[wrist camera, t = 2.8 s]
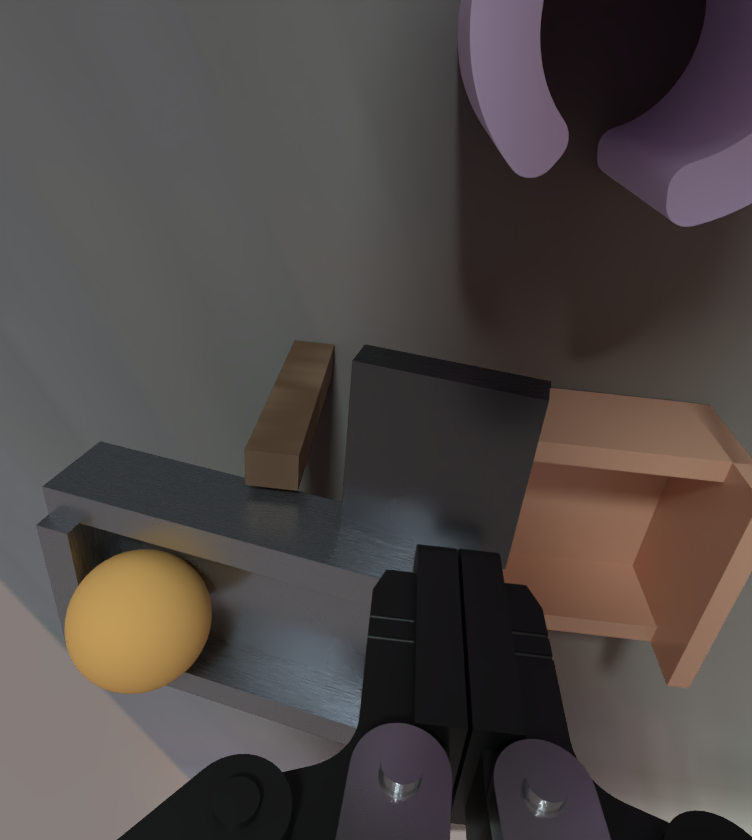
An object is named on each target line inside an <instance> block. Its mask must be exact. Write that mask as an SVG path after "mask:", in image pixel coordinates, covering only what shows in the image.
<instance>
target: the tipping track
mask: <svg viewBox="0 0 752 840" xmlns="http://www.w3.org/2000/svg"><path fill="white" fill-rule="evenodd" d="M550 387H551V381H546V380H541V379H536V378H531V377H526V376H521V375H516V374H511V373H506V372H501V371H496V370H491V369H486V368H481V367H476V366H471V365H466V364H461V363H456V362H451V361H446V360H441V359H436V358H431V357H426V356H421V355H415V354H410V353H405V352H400V351H395V350H390V349H385V348H380V347H375V346H370V345H364V347H363V348H362V349H361V350H360V352H359V353H358V354H357V355H356V357H355V358H354V359H353V361H352V374H351V388H350V401H349V415H348V429H347V443H346V457H345V470H344V484H343V498H342V502H338V501H334V500H331V499H327V498H323V497H319V496H315V495H311V494H307V493H303V492H299V491H295V490H286V489H277V488H268V487H259V486H250V485H245V478H243V477H239V476H235V475H231V474H228V473H224V472H220V471H216V470H212V469H208V468H204V467H200V466H196V465H192V464H188V463H184V462H180V461H176V460H172V459H168V458H164V457H160V456H156V455H152V454H148V453H144V452H140V451H136V450H132V449H129V448H125V447H121V446H117V445H113V444H109V443H105V442H101V441H100V442H99V443H98V444H96V445H95V446H94V447H92V448H91V449H90V450H89V451H87V452H86V453H85V454H83V455H82V456H81V457H80V458H78V459H77V460H76V461H75V462H73V463H72V464H71V465H69V466H68V467H67V468H66V469H64V470H63V471H62V472H60V473H59V474H58V475H57V476H55V477H54V478H53V479H51V480H50V481H49V482H48V483H46V484H45V485H44V486H42V487H43V491H44V495H45V500H46V504H47V508H48V513H49V515H48V516H47V517H45V518H44V519H43V520H42V521H41V522H39V523H38V524H37V525H36V526H37V530H38V534H39V538H40V542H41V546H42V550H43V554H44V558H45V562H46V566H47V570H48V574H49V578H50V582H51V586H52V590H53V594H54V598H55V602H56V606H57V610H58V614H59V618H60V622H61V626H62V630H63V634H64V638H65V618H66V613H67V608H68V605H69V603H70V600H71V598H72V596H73V594H74V592H75V590H76V588H77V587H78V586H79V584H80V583H81V582H82V580H83V579H84V578H85V577H86V576H87V575H88V574H89V573H90V572H91V571H92V570H93V569H94V568H95V567H97V566H98V565H99V564H101V563H102V562H104V561H105V560H107V559H109V558H111V557H113V556H115V555H118V554H121V553H124V552H127V551H132V550H138V549H154V550H160V551H164V552H168V553H171V554H173V555H175V556H177V557H179V558H181V559H183V560H184V561H186V562H187V563H188V564H189V565H191V566H192V567H193V568H194V569H195V570H196V572H197V573H198V574H199V575H200V577H201V578H202V580H203V581H204V583H205V586H206V588H207V590H208V593H209V596H210V601H211V607H212V620H211V627H210V632H209V635H208V638H207V641H206V643H205V645H204V647H203V649H202V652H201V653H200V655H199V656H198V658H197V659H196V660H195V662H194V663H193V664H192V665H191V666H190V668H189V669H188V670H187V671H185V672H184V673H183V674H182V675H181V676H180V677H178V678H177V679H175V680H174V681H172V682H171V683H169V684H167V686H170V687H173V688H176V689H179V690H182V691H185V692H188V693H191V694H194V695H197V696H200V697H203V698H206V699H209V700H212V701H215V702H218V703H221V704H224V705H227V706H230V707H233V708H236V709H239V710H242V711H245V712H248V713H251V714H254V715H257V716H260V717H263V718H266V719H269V720H272V721H275V722H278V723H281V724H284V725H287V726H290V727H293V728H296V729H299V730H302V731H305V732H308V733H311V734H314V735H317V736H320V737H323V738H326V739H329V740H332V741H335V742H338V743H341V744H344V745H347V744H348V743H349V741H350V740H351V739H352V737H353V735H354V733H355V731H356V728H357V726H358V720H359V711H360V701H361V692H362V682H363V673H364V663H365V653H366V644H367V635H368V626H369V618H370V609H371V600H372V591H373V588H374V587H375V585H376V584H377V582H378V581H379V579H380V578H381V577H382V575H383V574H384V572H385V571H386V569H387V570H396V571H405V572H412V570H413V564H414V558H415V551H416V546H417V544H423V545H432V546H441V547H449V548H456V549H457V552H458V549H459V548H460V549H469V550H478V551H486V552H495V553H499V554H500V557H501V563H502V569H506V565H507V561H508V557H509V553H510V549H511V546H512V542H513V538H514V534H515V530H516V526H517V523H518V519H519V515H520V511H521V507H522V503H523V499H524V496H525V492H526V488H527V484H528V480H529V476H530V472H531V469H532V465H533V461H534V457H535V453H536V449H537V445H538V442H539V438H540V434H541V430H542V426H543V422H544V418H545V415H546V411H547V407H548V403H549V397H550ZM65 642H66V640H65Z"/></svg>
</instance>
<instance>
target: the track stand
mask: <svg viewBox="0 0 752 840" xmlns="http://www.w3.org/2000/svg"><path fill="white" fill-rule="evenodd" d="M333 360H334V345H332V344H323V343H313V342H304V341H294V343H293V345H292V348H291V350H290V352H289V354H288V356H287V358H286V361H285V363H284V365H283V367H282V369H281V372H280V374H279V376H278V378H277V380H276V382H275V385H274V387H273V389H272V391H271V393H270V396H269V398H268V400H267V402H266V404H265V406H264V409H263V411H262V413H261V415H260V417H259V419H258V422H257V424H256V426H255V428H254V430H253V433H252V435H251V437H250V439H249V441H248V443H247V446H246V448H245V485H250V486H259V487H268V488H277V489H286V490H295V491H298V489H299V486H300V482H301V479H302V475H303V472H304V469H305V465H306V462H307V459H308V455H309V452H310V448H311V445H312V442H313V438H314V435H315V432H316V428H317V425H318V421H319V418H320V415H321V411H322V408H323V405H324V401H325V398H326V394H327V391H328V388H329V384H330V381H331V378H332V374H333Z"/></svg>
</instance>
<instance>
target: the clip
mask: <svg viewBox="0 0 752 840" xmlns="http://www.w3.org/2000/svg"><path fill="white" fill-rule="evenodd" d="M543 2H544V0H461V2H460V9H459V17H458V34H457V43H458V57H459V65H460V70H461V75H462V80H463V84H464V87H465V90H466V93H467V96H468V99H469V101H470V104H471V106H472V108H473V110H474V112H475V114H476V116H477V118H478V119H479V121H480V123H481V124H482V126H483V127H484V129H485V130H486V132H487V133H488V135H489V136H490V138H491V139H492V141H493V142H494V144H495V145H496V147H497V148H498V150H499V151H500V153H501V154H502V156H503V157H504V159H505V160H506V162H507V163H508V164H509V166H510V167H511V169H512V170H513V171H514V172H515V173H516V174H518V175H520V176H522V177H525V178H534V177H538V176H541V175H543V174H544V173H546V172H547V171H548V170H549V169H550V168H551V167H552V166H553V165H554V164H555V163H556V162H557V161H558V159H559V158H560V157H561V156H562V154H563V153H564V152H565V149H566V147H567V144H568V140H569V132H568V128H567V125H566V123H565V121H564V120H563V118H562V116H561V115H560V113H559V112H558V110H557V108H556V106H555V104H554V102H553V99H552V97H551V95H550V92H549V89H548V86H547V83H546V80H545V75H544V71H543V66H542V58H541V49H540V27H541V15H542V8H543ZM597 163H598V166H599V168H600V170H601V171H602V172H604V173H605V174H607V175H608V176H609V177H611V178H612V179H613V180H615V181H616V182H618V183H619V184H620V185H622V186H623V187H625V188H626V189H627V190H629V191H630V192H632V193H633V194H634V195H636V196H637V197H639V198H640V199H641V200H643V201H644V202H645V203H647V204H648V205H650V206H651V207H652V208H654V209H655V210H657V211H658V212H659V213H661V214H662V215H664V216H665V217H666V218H668V219H669V220H670V221H672V222H673V223H675V224H677V225H679V226H682V227H691V226H696V225H699V224H703V223H706V222H710V221H712V220H715V219H718V218H721V217H723V216H726V215H728V214H731V213H733V212H735V211H737V210H740V209H742V208H744V207H746V206H748V205H750V204H752V0H706V12H705V19H704V24H703V29H702V32H701V36H700V39H699V42H698V44H697V47H696V50H695V52H694V54H693V56H692V58H691V60H690V62H689V64H688V66H687V68H686V69H685V71H684V73H683V74H682V76H681V77H680V78H679V80H678V81H677V83H676V84H675V85H674V86H673V88H672V89H671V90H670V91H669V92H668V93H667V94H666V95H665V96H664V97H663V98H662V99H661V100H660V101H659V102H658V103H657V104H656V105H655V106H653V107H652V108H651V109H650V110H648V111H647V112H645V113H644V114H642V115H641V116H639V117H637V118H636V119H634V120H632V121H630V122H628V123H625V124H623V125H620V126H618V127H615V128H612V129H610V130H608V131H607V132H606V133H605V134H604V135H603V136H602V137H601V139H600V141H599V143H598V149H597Z"/></svg>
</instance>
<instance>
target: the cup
mask: <svg viewBox="0 0 752 840" xmlns="http://www.w3.org/2000/svg"><path fill="white" fill-rule="evenodd" d="M502 570H503V576H504V583H512V584H520V585H527V587H528V588H529V590H530V591H531V592H532V594H533V595H534V597H535V598H536V600H537V601H538V603H539V604H540V605H541V607H542V608H543V613H544V617H545V622H546V627H547V629H548V630H556V631H565V632H573V633H582V634H591V635H599V636H608V637H616V638H625V639H634V640H642V641H651V644H652V647H653V649H654V652H655V655H656V657H657V660H658V663H659V665H660V668H661V671H662V673H663V676H664V679H665V681H666V684H667V686H674V687H683V688H689V687H690V685H691V684H692V682H693V680H694V678H695V676H696V674H697V672H698V670H699V669H700V667H701V665H702V663H703V661H704V659H705V657H706V655H707V654H708V652H709V650H710V648H711V646H712V644H713V642H714V641H715V639H716V637H717V635H718V633H719V631H720V629H721V627H722V626H723V624H724V622H725V620H726V618H727V616H728V614H729V612H730V611H731V609H732V607H733V605H734V603H735V601H736V599H737V598H738V596H739V594H740V592H741V590H742V588H743V586H744V584H745V583H746V581H747V579H748V577H749V575H750V573H751V571H752V458H751V456H750V455H749V454H748V453H747V451H746V450H745V449H744V448H743V446H742V445H741V444H740V442H739V441H738V440H737V439H736V437H735V436H734V435H733V434H732V432H731V431H730V430H729V428H728V427H727V426H726V425H725V423H724V422H723V421H722V420H721V418H720V417H719V416H718V415H717V413H716V412H715V411H714V409H713V408H712V407H711V406H710V405H706V404H697V403H687V402H678V401H669V400H660V399H651V398H642V397H632V396H623V395H614V394H605V393H596V392H586V391H577V390H568V389H559V388H550V397H549V403H548V407H547V411H546V415H545V418H544V422H543V426H542V430H541V434H540V438H539V442H538V445H537V449H536V453H535V457H534V461H533V465H532V469H531V472H530V476H529V480H528V484H527V488H526V492H525V496H524V499H523V503H522V507H521V511H520V515H519V519H518V523H517V526H516V530H515V534H514V538H513V542H512V546H511V549H510V553H509V557H508V561H507V565H506V569H502Z"/></svg>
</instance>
